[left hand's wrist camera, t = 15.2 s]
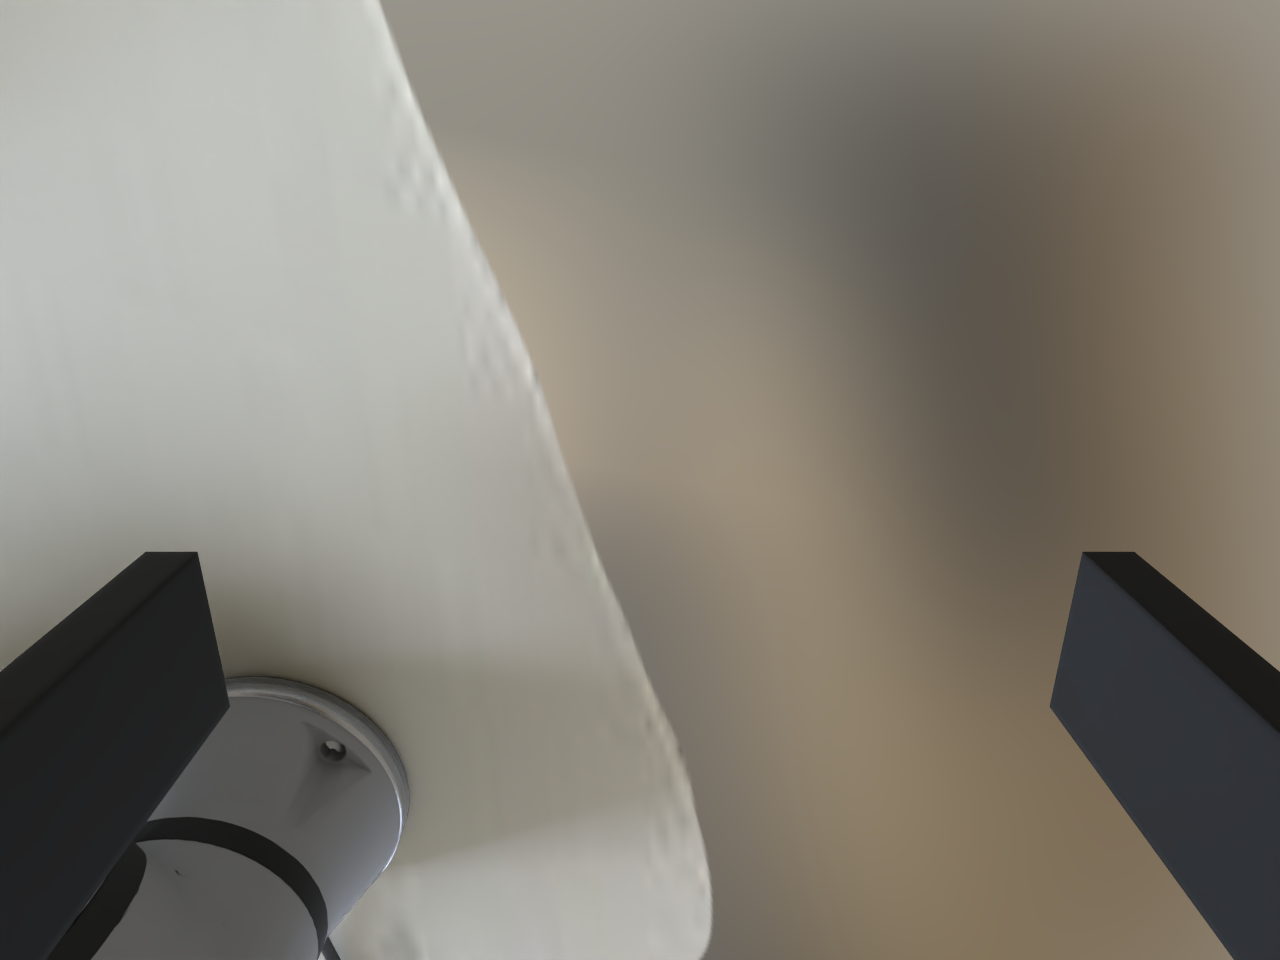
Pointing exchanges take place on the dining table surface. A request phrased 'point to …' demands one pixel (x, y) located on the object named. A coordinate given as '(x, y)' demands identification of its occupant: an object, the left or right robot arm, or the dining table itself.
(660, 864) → the dining table surface
